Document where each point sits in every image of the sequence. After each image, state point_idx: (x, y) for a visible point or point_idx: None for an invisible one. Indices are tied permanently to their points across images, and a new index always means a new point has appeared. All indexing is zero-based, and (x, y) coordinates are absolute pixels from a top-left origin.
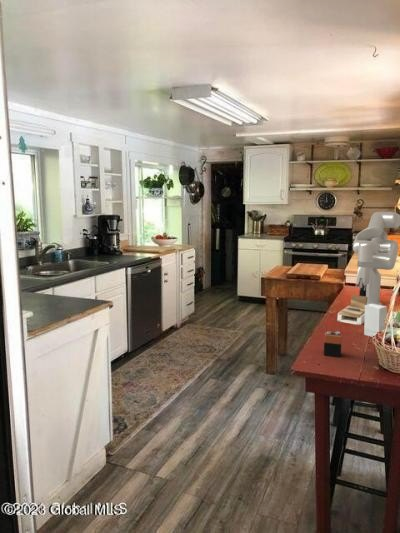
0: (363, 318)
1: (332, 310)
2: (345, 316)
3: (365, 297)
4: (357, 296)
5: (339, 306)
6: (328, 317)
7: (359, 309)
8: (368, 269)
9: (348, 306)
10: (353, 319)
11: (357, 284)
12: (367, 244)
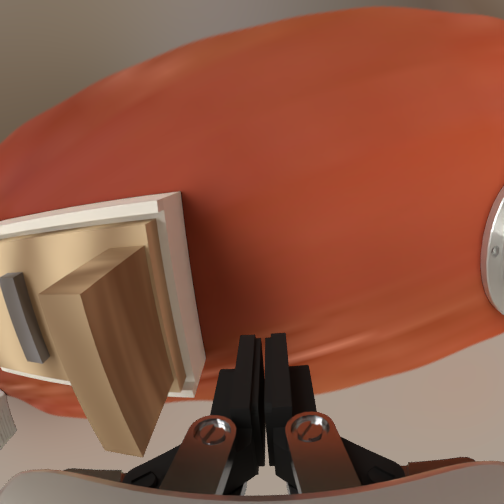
0: None
1: (186, 48)
2: None
3: (101, 443)
4: (67, 371)
5: (362, 44)
6: (13, 140)
7: (34, 361)
8: None
9: (84, 235)
10: None
11: (94, 487)
12: None
